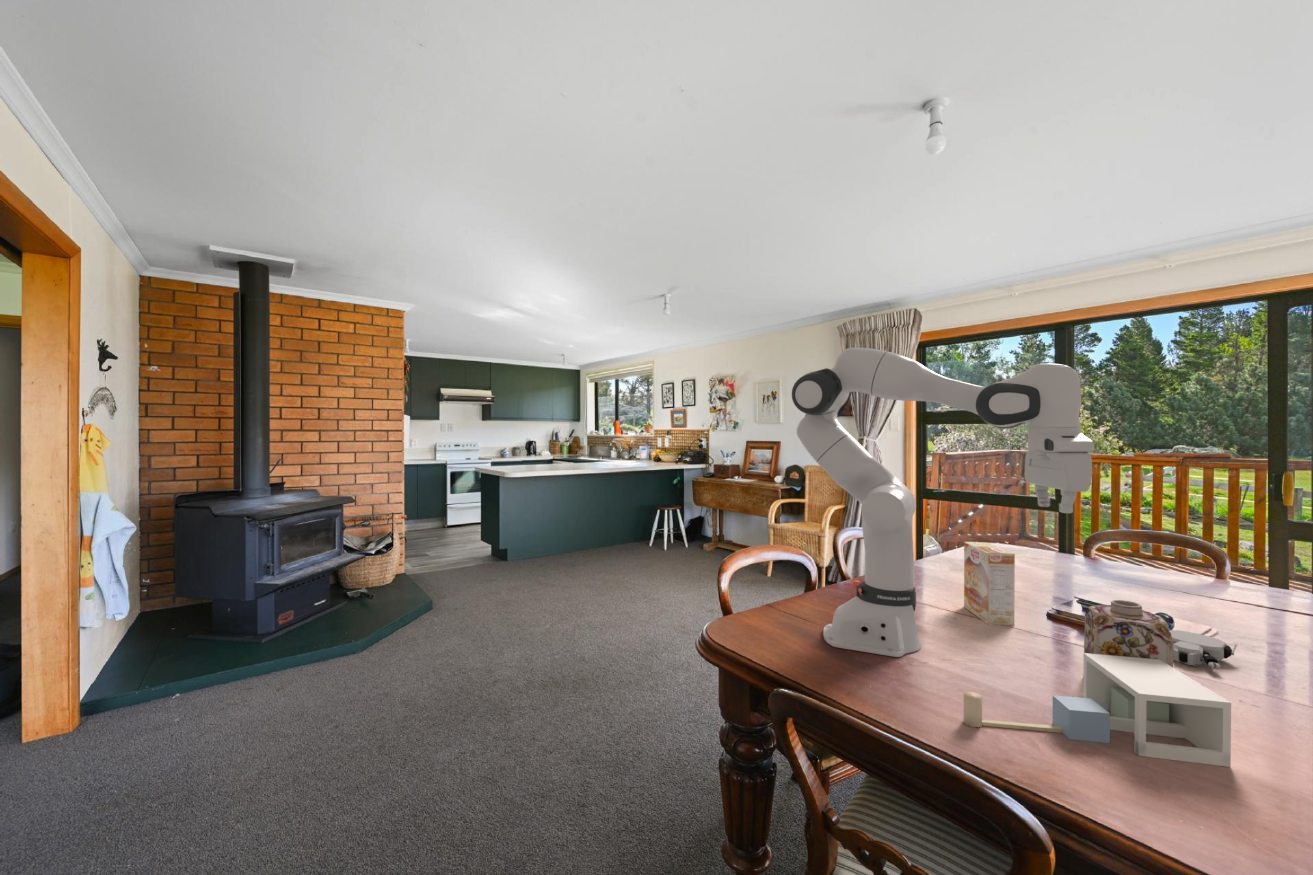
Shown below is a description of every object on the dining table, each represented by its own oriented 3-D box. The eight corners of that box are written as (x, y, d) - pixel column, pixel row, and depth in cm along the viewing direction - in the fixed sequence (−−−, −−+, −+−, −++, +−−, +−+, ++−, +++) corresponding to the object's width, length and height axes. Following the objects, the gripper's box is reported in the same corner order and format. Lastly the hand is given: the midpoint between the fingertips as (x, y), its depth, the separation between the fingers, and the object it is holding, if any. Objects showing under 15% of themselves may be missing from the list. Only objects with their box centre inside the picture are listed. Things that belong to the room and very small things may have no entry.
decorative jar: (1174, 714, 97) (1175, 616, 97) (1092, 697, 103) (1093, 605, 103) (1156, 687, 107) (1157, 599, 107) (1083, 673, 113) (1083, 590, 113)
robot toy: (1222, 681, 112) (1238, 659, 120) (1222, 660, 112) (1237, 640, 120) (1145, 661, 122) (1165, 642, 130) (1145, 641, 122) (1164, 624, 130)
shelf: (1138, 755, 84) (1138, 693, 84) (1083, 705, 100) (1083, 652, 100) (1230, 766, 82) (1231, 702, 81) (1158, 713, 97) (1159, 659, 97)
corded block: (969, 730, 92) (970, 701, 91) (958, 715, 96) (958, 687, 96) (1109, 743, 88) (1109, 713, 88) (1090, 726, 93) (1090, 698, 93)
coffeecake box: (962, 606, 157) (963, 541, 157) (988, 607, 156) (989, 542, 156) (987, 624, 142) (987, 552, 142) (1015, 626, 141) (1016, 553, 141)
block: (1127, 728, 92) (1128, 699, 92) (1110, 713, 97) (1110, 686, 97) (1168, 732, 91) (1169, 704, 91) (1149, 717, 96) (1149, 690, 96)
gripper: (1016, 441, 119) (1016, 502, 119) (1059, 443, 100) (1060, 516, 100) (1048, 441, 118) (1048, 503, 118) (1099, 442, 98) (1099, 517, 98)
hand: (1054, 509), depth 109 cm, fingers open, 8 cm apart
